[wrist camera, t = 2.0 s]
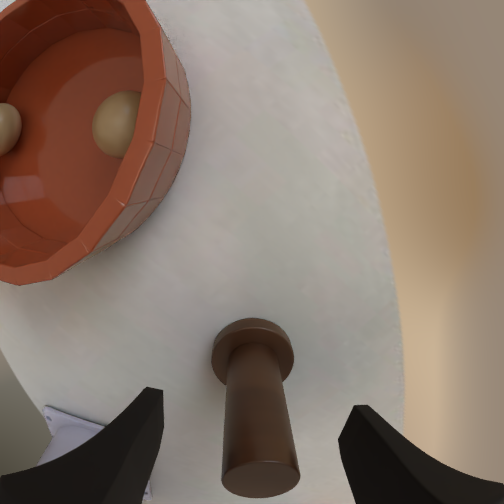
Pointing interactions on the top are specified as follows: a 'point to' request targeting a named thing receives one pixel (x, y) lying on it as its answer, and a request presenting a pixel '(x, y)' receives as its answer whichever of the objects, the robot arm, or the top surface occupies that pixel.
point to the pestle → (256, 409)
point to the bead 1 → (9, 127)
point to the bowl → (83, 130)
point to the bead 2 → (116, 123)
